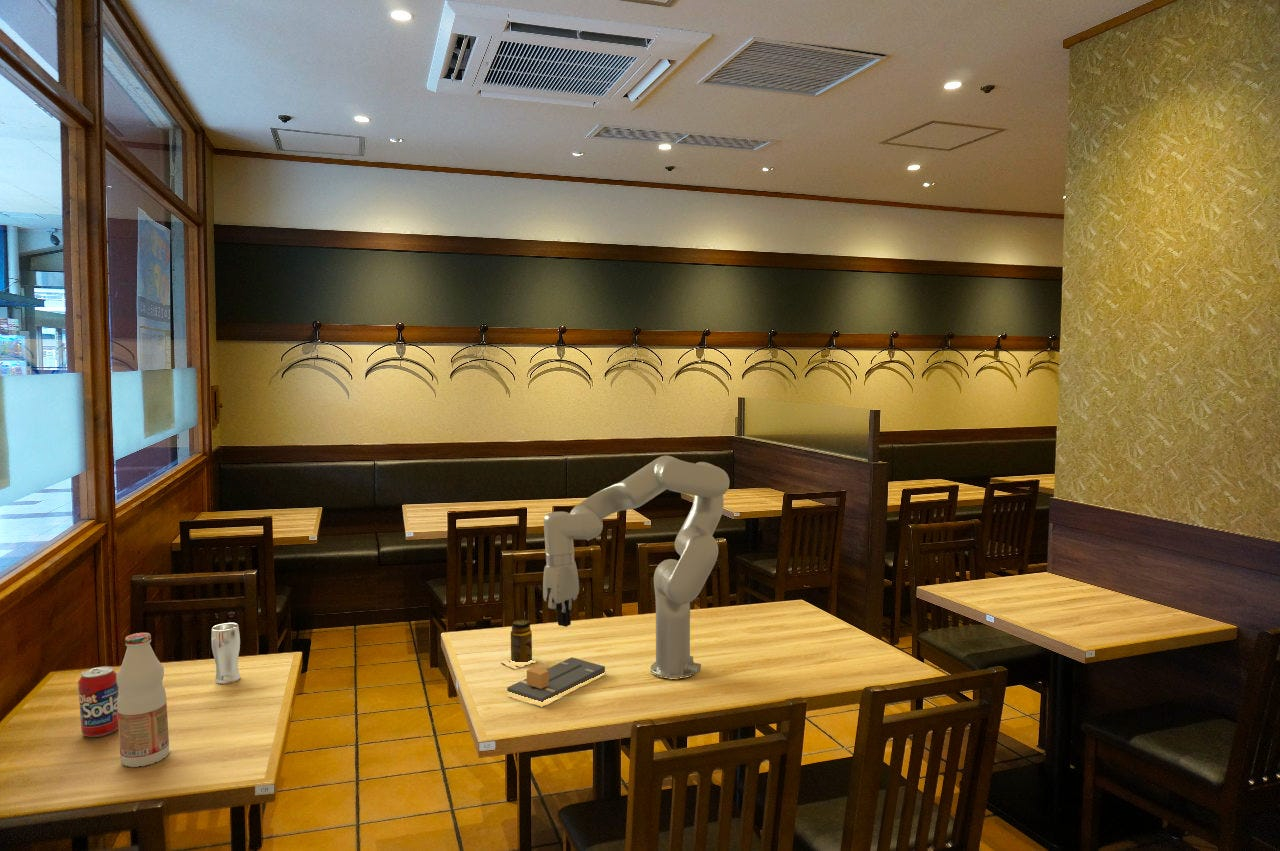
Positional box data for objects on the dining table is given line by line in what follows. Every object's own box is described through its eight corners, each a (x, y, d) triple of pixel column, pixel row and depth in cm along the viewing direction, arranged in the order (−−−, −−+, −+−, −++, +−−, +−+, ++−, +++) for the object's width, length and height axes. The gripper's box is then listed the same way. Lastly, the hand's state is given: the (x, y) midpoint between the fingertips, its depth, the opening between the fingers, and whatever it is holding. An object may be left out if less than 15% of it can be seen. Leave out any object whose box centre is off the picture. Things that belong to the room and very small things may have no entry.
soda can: (113, 721, 206) (109, 662, 205) (126, 730, 201) (122, 670, 200) (76, 733, 200) (72, 671, 199) (88, 742, 195) (84, 680, 194)
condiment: (538, 662, 243) (537, 622, 242) (514, 670, 238) (513, 629, 236) (523, 655, 249) (522, 616, 248) (499, 663, 243) (498, 623, 242)
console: (571, 665, 241) (571, 656, 240) (604, 675, 234) (604, 665, 234) (507, 696, 220) (507, 686, 219) (541, 708, 213) (541, 697, 212)
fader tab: (534, 680, 223) (534, 666, 222) (548, 685, 220) (548, 671, 220) (526, 684, 220) (526, 670, 220) (541, 688, 217) (540, 674, 217)
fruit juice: (128, 773, 181) (120, 646, 178) (115, 758, 188) (107, 636, 185) (175, 757, 188) (168, 635, 185) (161, 743, 194) (154, 625, 192)
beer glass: (230, 685, 227) (227, 631, 226) (207, 683, 229) (204, 630, 227) (247, 675, 234) (244, 623, 233) (225, 673, 236) (222, 621, 234)
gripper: (567, 550, 233) (571, 614, 235) (530, 563, 221) (535, 631, 223) (588, 553, 229) (592, 618, 231) (552, 567, 216) (556, 636, 218)
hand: (564, 624), depth 227 cm, fingers closed
